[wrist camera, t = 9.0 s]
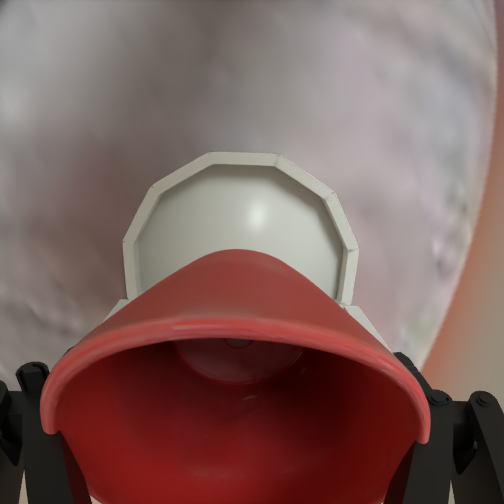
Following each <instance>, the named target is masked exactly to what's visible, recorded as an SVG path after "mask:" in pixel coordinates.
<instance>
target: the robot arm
mask: <svg viewBox="0 0 504 504" xmlns="http://www.w3.org/2000/svg"><path fill="white" fill-rule="evenodd" d="M131 301H133V300H126V299H120V300H119V302H118V303H117V304H116V305H115V307H114V308H113V309H112V310H111V312H110V313H109V314H108V315H107V317H106V318H105V319H104V320H103V322H104V321H106V320H107V319H108V318H109V317H111V316H112V315H113V314H115V313H116V312H118V311H119V310H120V309H122V308H123V307H124V306H126V305H127V304H128V303H130V302H131ZM343 309H344V310H345V311H346V312H347V313H349V314H350V315H351V316H352V317H353V318H354V319H355V320H356V321H358V322H359V323H360V324H361V325H362V326H363V327H364V328H365V329H367V330H368V331H369V332H370V333H371V334H372V335H373V336H374V337H375V338H376V339H377V340H379V341H380V342H381V343H382V344H383V345H384V346H385V347H386V348H387V349H388V350H389V351H390V352H391V350H390V349H389V347H388V346H387V345H386V343H385V342H384V340H383V339H382V338H381V336H380V335H379V334H378V332H377V331H376V330H375V328H374V327H373V325H372V324H371V323H370V321H369V320H368V319H367V317H366V316H365V315H364V313H363V312H362V311H361V309H360V308H359V307H358V306H344V308H343ZM103 322H102V323H103ZM102 323H101V324H102ZM73 347H74V346H73ZM73 347H72V348H73ZM72 348H70V349H68V351H69V350H71V349H72ZM68 351H67V352H68ZM67 352H66V353H67ZM66 353H65V354H66ZM391 353H392V352H391ZM65 354H64V355H65ZM392 354H393V355H394V356H395V357H396V358H397V359H398V360H399V361H400V362H401V363H402V364H403V365H404V366H405V367H406V368H407V369H408V370H409V371H410V372H411V374H412V375H413V376H414V377H415V378H416V380H417V381H418V382H419V384H420V386H421V388H422V390H423V392H424V394H425V397H426V399H427V401H428V405H429V409H430V420H431V423H430V434H429V440H428V442H427V443H425V444H421V443H418V442H417V441H416V440H415V441H414V442H413V444H412V445H411V447H410V448H409V450H408V451H407V453H406V454H405V456H404V458H403V459H402V461H401V463H400V464H399V466H398V468H397V470H396V471H395V473H394V475H393V477H392V479H391V481H390V483H389V486H388V490H387V493H386V496H385V500H384V503H383V504H448V500H449V491H450V482H451V483H452V488H453V494H454V500H455V504H504V413H503V411H502V409H501V407H500V405H499V403H498V401H497V399H496V398H495V397H494V396H493V395H492V394H490V393H488V392H485V391H476V392H474V393H472V394H471V396H470V398H469V400H468V401H452V398H451V397H450V396H449V395H448V394H446V393H445V392H443V391H440V390H433V389H432V388H431V387H430V386H429V384H428V383H427V381H426V380H425V379H424V377H423V376H422V375H421V373H420V372H418V369H417V368H416V367H415V366H414V364H413V363H412V361H411V360H410V359H409V358H408V357H407V356H405V355H404V354H402V353H401V352H396V353H392ZM64 355H63V356H64ZM49 374H50V373H49V370H48V367H47V365H45V364H44V363H41V362H30V363H26V364H24V365H22V366H21V367H20V368H19V369H18V370H17V372H16V377H17V379H18V382H19V384H20V387H21V389H22V391H8V389H7V386H6V384H5V383H4V382H3V381H1V380H0V504H19V497H20V490H21V484H22V478H23V473H24V472H25V482H26V490H27V498H28V504H92V502H91V498H90V495H89V491H88V488H87V484H86V481H85V477H84V475H83V473H82V471H81V469H80V467H79V465H78V463H77V461H76V459H75V457H74V455H73V453H72V451H71V449H70V447H69V445H68V443H67V441H66V440H65V438H64V436H63V435H62V433H61V431H60V430H59V431H58V432H57V433H55V434H47V433H45V432H44V430H43V427H42V422H41V414H40V400H41V394H42V390H43V387H44V384H45V382H46V380H47V378H48V376H49ZM476 443H477V444H476Z"/></svg>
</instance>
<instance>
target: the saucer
mask: <svg viewBox="0 0 504 504" xmlns="http://www.w3.org/2000/svg"><path fill="white" fill-rule="evenodd" d="M123 241H124V242H123V257H124V269H125V280H126V290H127V299H129V300H134V299H135V298H137V297H138V296H140V295H141V294H142V293H144V292H145V291H147V290H148V289H150V288H151V287H153V286H154V285H155V284H157V283H158V282H160V281H161V280H163V279H165V278H166V277H168V276H169V275H171V274H172V273H174V272H176V271H178V270H179V269H181V268H183V267H184V266H186V265H188V264H190V263H192V262H193V261H195V260H197V259H199V258H201V257H203V256H205V255H207V254H210V253H213V252H216V251H221V250H227V249H247V250H253V251H258V252H262V253H265V254H268V255H271V256H273V257H275V258H278V259H280V260H281V261H283V262H285V263H286V264H288V265H289V266H291V267H292V268H294V269H295V270H297V271H298V272H299V273H301V274H302V275H304V276H305V277H306V278H308V279H309V280H310V281H311V282H313V283H314V284H315V285H316V286H318V287H319V288H320V289H321V290H322V291H324V292H325V293H326V294H327V295H328V296H329V297H330V298H332V299H333V300H334V301H335V302H336V303H337V304H338V305H339V306H341V307H342V308H344V306H349V305H351V301H352V295H353V289H354V282H355V276H356V269H357V262H358V254H359V249H358V248H359V247H358V244H357V242H356V240H355V237H354V235H353V232H352V230H351V228H350V225H349V223H348V221H347V218H346V216H345V214H344V212H343V209H342V207H341V205H340V203H339V200H338V198H337V196H336V194H335V193H334V192H333V190H331V189H330V188H329V187H327V186H326V185H324V184H323V183H321V182H320V181H319V180H317V179H316V178H314V177H313V176H311V175H310V174H308V173H307V172H305V171H304V170H302V169H301V168H299V167H298V166H296V165H295V164H293V163H292V162H290V161H289V160H287V159H286V158H284V157H283V156H281V155H278V154H269V153H246V152H210V153H209V152H208V153H206V154H204V155H202V156H201V157H199V158H197V159H195V160H193V161H192V162H190V163H188V164H186V165H185V166H183V167H181V168H179V169H178V170H176V171H174V172H173V173H171V174H169V175H168V176H166V177H164V178H163V179H161V180H159V181H158V182H156V183H154V184H153V185H152V186H151V187H150V188H149V190H148V192H147V194H146V196H145V198H144V200H143V201H142V203H141V205H140V207H139V209H138V211H137V213H136V215H135V217H134V219H133V221H132V223H131V225H130V227H129V229H128V231H127V233H126V235H125V237H124V239H123Z"/></svg>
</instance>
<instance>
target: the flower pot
mask: <svg viewBox="0 0 504 504" xmlns="http://www.w3.org/2000/svg"><path fill="white" fill-rule="evenodd" d="M40 414H41V422H42V427H43V430H44V432H45V433H47V434H55V433H57V432H58V431H59V430H60V431H61V433H62V435H63V436H64V438H65V440H66V441H67V443H68V445H69V447H70V449H71V451H72V453H73V455H74V457H75V459H76V461H77V463H78V465H79V467H80V469H81V471H82V473H83V475H84V477H85V481H86V484H87V488H88V491H89V495H91V496H92V497H93V498H95V499H96V500H97V501H99V502H100V503H102V504H381V503H382V502H384V500H385V496H386V493H387V490H388V486H389V483H390V481H391V479H392V477H393V475H394V473H395V471H396V470H397V468H398V466H399V464H400V463H401V461H402V459H403V458H404V456H405V454H406V453H407V451H408V450H409V448H410V447H411V445H412V444H413V442H414V441H415V440H416V441H417V442H418V443H421V444H425V443H427V442H428V440H429V434H430V423H431V420H430V409H429V405H428V401H427V399H426V397H425V394H424V392H423V390H422V388H421V386H420V384H419V382H418V381H417V380H416V378H415V377H414V376H413V375H412V374H411V372H410V371H409V370H408V369H407V368H406V367H405V366H404V365H403V364H402V363H401V362H400V361H399V360H398V359H397V358H396V357H395V356H394V355H393V354H392V353H391V352H390V351H389V350H388V349H387V348H386V347H385V346H384V345H383V344H382V343H381V342H380V341H379V340H377V339H376V338H375V337H374V336H373V335H372V334H371V333H370V332H369V331H368V330H367V329H365V328H364V327H363V326H362V325H361V324H360V323H359V322H358V321H356V320H355V319H354V318H353V317H352V316H351V315H350V314H349V313H347V312H346V311H345V310H344V309H343V308H342V307H341V306H339V305H338V304H337V303H336V302H335V301H334V300H333V299H332V298H330V297H329V296H328V295H327V294H326V293H325V292H324V291H322V290H321V289H320V288H319V287H318V286H316V285H315V284H314V283H313V282H311V281H310V280H309V279H308V278H306V277H305V276H304V275H302V274H301V273H299V272H298V271H297V270H295V269H294V268H292V267H291V266H289V265H288V264H286V263H285V262H283V261H281V260H280V259H278V258H275V257H273V256H271V255H268V254H265V253H262V252H258V251H253V250H247V249H227V250H221V251H216V252H213V253H210V254H207V255H205V256H203V257H201V258H199V259H197V260H195V261H193V262H192V263H190V264H188V265H186V266H184V267H183V268H181V269H179V270H178V271H176V272H174V273H172V274H171V275H169V276H168V277H166V278H165V279H163V280H161V281H160V282H158V283H157V284H155V285H154V286H153V287H151V288H150V289H148V290H147V291H145V292H144V293H142V294H141V295H140V296H138V297H137V298H135V299H134V300H133V301H131V302H130V303H128V304H127V305H126V306H124V307H123V308H122V309H120V310H119V311H118V312H116V313H115V314H113V315H112V316H111V317H109V318H108V319H107V320H106V321H104V322H103V323H102V324H100V325H99V326H98V327H97V328H95V329H94V330H93V331H92V332H90V333H89V334H88V335H87V336H85V337H84V338H83V339H82V340H81V341H80V342H78V343H77V344H76V345H75V346H74V347H73V348H72V349H71V350H69V351H68V352H67V353H66V354H65V355H64V356H63V357H62V358H61V359H60V360H59V361H58V362H57V364H56V365H55V366H54V367H53V369H52V371H51V372H50V374H49V376H48V378H47V380H46V382H45V384H44V387H43V390H42V394H41V400H40Z"/></svg>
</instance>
